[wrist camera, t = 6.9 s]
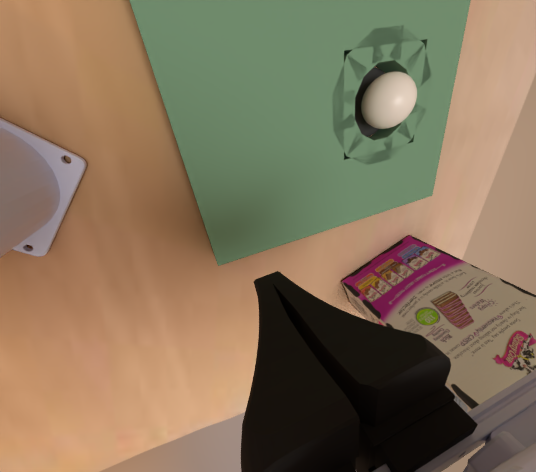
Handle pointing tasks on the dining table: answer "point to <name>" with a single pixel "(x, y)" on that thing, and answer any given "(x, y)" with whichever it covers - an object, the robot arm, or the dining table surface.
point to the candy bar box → (452, 315)
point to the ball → (389, 100)
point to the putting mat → (299, 108)
